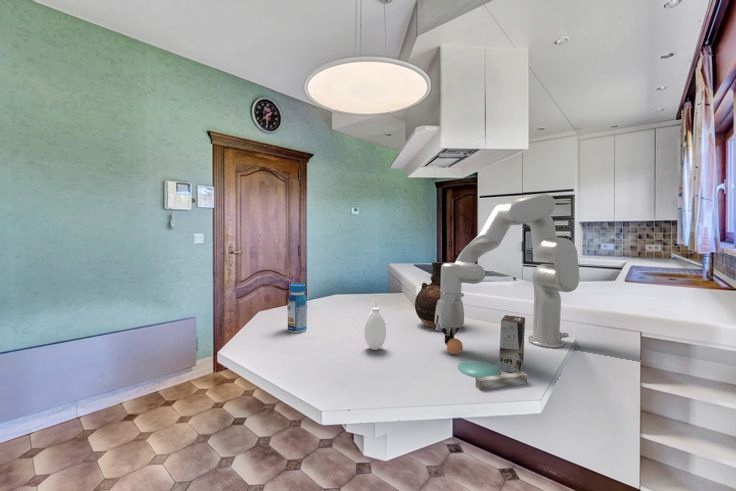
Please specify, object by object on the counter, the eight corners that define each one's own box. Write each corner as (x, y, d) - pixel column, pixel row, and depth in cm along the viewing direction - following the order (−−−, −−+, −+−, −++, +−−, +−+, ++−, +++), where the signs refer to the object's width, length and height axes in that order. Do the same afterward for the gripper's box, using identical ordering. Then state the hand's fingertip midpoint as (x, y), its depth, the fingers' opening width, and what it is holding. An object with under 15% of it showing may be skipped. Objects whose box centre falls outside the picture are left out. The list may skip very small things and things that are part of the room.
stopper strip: (522, 380, 98) (522, 372, 98) (527, 383, 97) (527, 375, 96) (475, 386, 94) (475, 377, 94) (479, 389, 92) (480, 381, 92)
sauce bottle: (389, 349, 122) (390, 301, 122) (375, 354, 117) (376, 304, 116) (374, 344, 128) (374, 297, 127) (359, 349, 122) (360, 300, 121)
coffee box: (520, 374, 103) (522, 323, 102) (498, 369, 106) (500, 319, 105) (524, 364, 110) (526, 317, 110) (503, 360, 114) (505, 314, 113)
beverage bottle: (304, 333, 140) (305, 286, 139) (284, 333, 140) (285, 285, 139) (308, 327, 148) (309, 283, 147) (289, 327, 148) (290, 282, 147)
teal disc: (483, 359, 114) (483, 359, 114) (509, 375, 101) (509, 375, 101) (450, 363, 110) (450, 362, 110) (472, 380, 98) (472, 379, 98)
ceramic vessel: (418, 332, 144) (420, 263, 143) (410, 321, 162) (412, 260, 160) (465, 332, 146) (467, 264, 144) (453, 321, 163) (454, 260, 162)
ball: (459, 334, 121) (466, 343, 116) (457, 347, 123) (464, 356, 118) (445, 335, 120) (451, 345, 115) (443, 348, 122) (449, 358, 117)
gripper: (463, 294, 128) (461, 340, 129) (427, 295, 124) (426, 343, 125) (474, 298, 121) (472, 347, 122) (436, 299, 117) (435, 350, 118)
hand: (449, 345), depth 123 cm, fingers closed
